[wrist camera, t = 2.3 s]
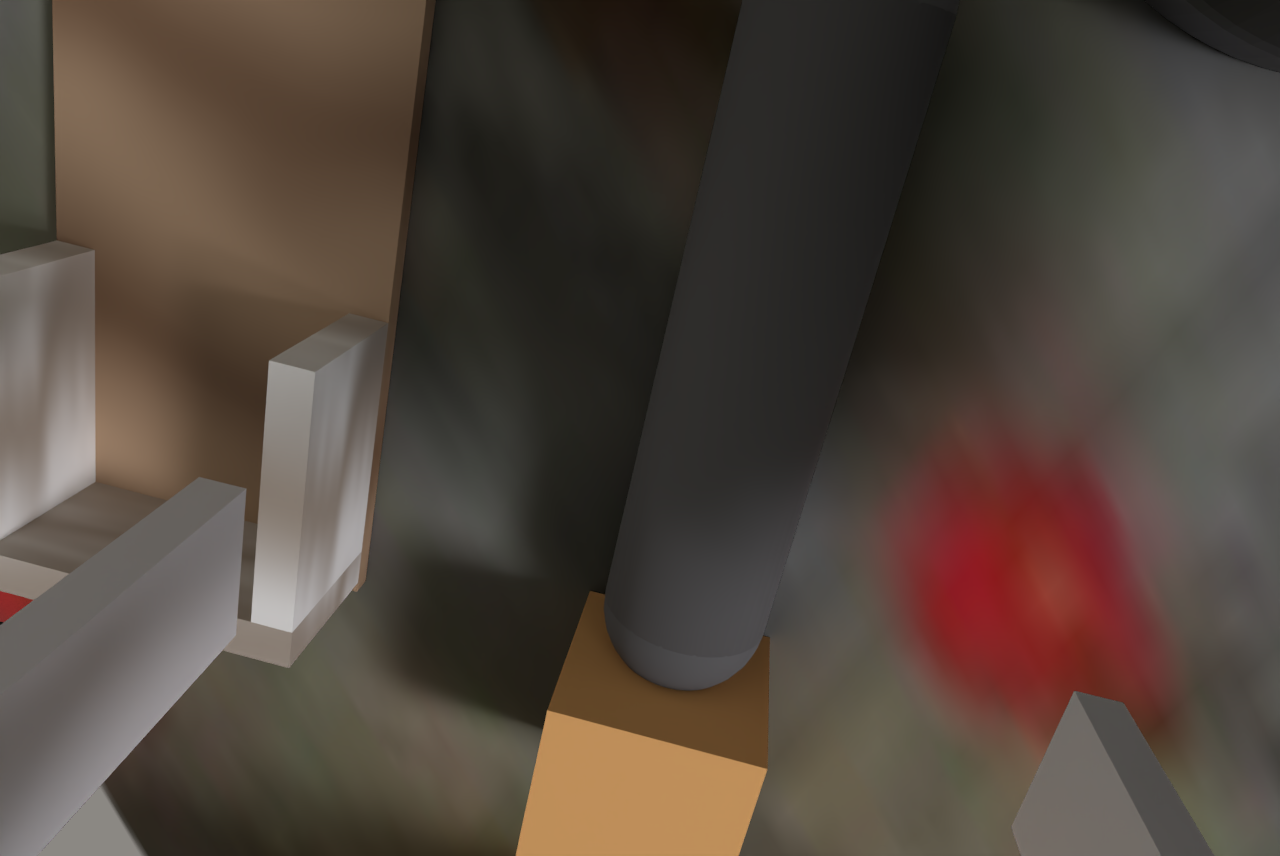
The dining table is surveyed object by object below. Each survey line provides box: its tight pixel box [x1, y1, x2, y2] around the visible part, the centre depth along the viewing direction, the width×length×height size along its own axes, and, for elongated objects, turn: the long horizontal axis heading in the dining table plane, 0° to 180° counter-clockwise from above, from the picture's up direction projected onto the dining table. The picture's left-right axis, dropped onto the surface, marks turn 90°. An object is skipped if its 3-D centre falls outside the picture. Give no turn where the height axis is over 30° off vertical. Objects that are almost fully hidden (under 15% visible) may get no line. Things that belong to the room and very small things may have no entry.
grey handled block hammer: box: [516, 0, 960, 856], centre depth 21 cm, size 22×5×5 cm, turn 168°
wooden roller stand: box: [0, 0, 436, 668], centre depth 19 cm, size 26×9×6 cm, turn 168°
